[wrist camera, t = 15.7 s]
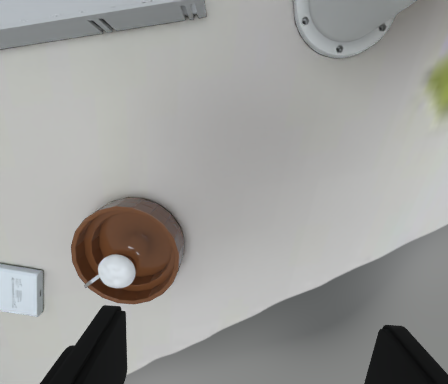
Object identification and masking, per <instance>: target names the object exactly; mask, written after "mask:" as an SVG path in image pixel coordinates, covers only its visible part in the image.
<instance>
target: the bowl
mask: <svg viewBox="0 0 448 384" xmlns="http://www.w3.org/2000/svg"><path fill="white" fill-rule="evenodd" d="M138 233H140V234H142V235H145V236H146V237H147V239H148V240H149V248H148V250H147V252H146V254H145V256H144V258H143V260H142V262H141V264H140V267H139V269H138V271H137V274H136V276H135V278H134V280H133V282H132V283H131V284H130V285H129V286H127V287H124V288H112V287H109V286H107V285H105V284H104V283H103V282H102V280H101V279H100V278H99V279H97V280H96V281H95V282H93V283H92V284H91V285H89V286H88V288H89V289H90V290H92V291H93V292H95V293H96V294H98V295H99V296H101V297H102V298H105V299H108V300H111V301H114V302H116V303H124V304H138V303H143V302H148V301H151V300H153V299H154V298H156V297H158V296H160V295H162V294H163V293H164V292H165V291H166V290H167V289H168V288H169V287H170V286H171V284H172V283H173V282H174V279H175V277H176V274H177V272H178V269H179V267H180V264H181V261H182V258H183V254H184V238H183V235H182V231H181V228H180V226H179V225H178V223H177V222H176V220H175V219H174V218H173V216H172V215H171V214H170V213H169V212H168V211H166V210H165V209H164V208H163V207H161V206H160V205H158V204H156V203H153V202H151V201H148V200H146V199H141V198H124V199H119V200H115V201H112V202H111V203H109V204H107V205H106V206H104V207H103V208H101V209H99V210H98V211H96V212H95V213H93V214H92V215H90V216H88V217H87V218H85V219H84V220H83V222H82V223H81V224H80V226H79V227H78V228H77V230H76V231H75V234H74V237H73V241H72V244H71V252H72V262H73V264H74V267H75V269H76V271H77V274H78V276H79V277H80V279H81V280H82V281H83V282H84V283H85V284H86V283H87V282H89V281H90V280H91V279H93V278H94V277H96V276H97V275H98V266H99V264H100V262H101V261H102V260H103V259H104V258H105V257H106V256H108V255H109V254H110V253H111V252H113V251H114V250H115V249H116V248H118V247H119V246H120V245H121V244H122V243H123V242H125V241H126V240H127V239H128V238H129V237H130V236H132V235H133V234H138Z"/></svg>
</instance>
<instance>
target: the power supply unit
mask: <svg viewBox="0 0 448 384" xmlns="http://www.w3.org/2000/svg"><path fill="white" fill-rule="evenodd" d="M195 14H198V18H202V17H206V9H205V2H204V0H0V49H5V48H12V47H18V46H25V45H31V44H38V43H44V42H50V41H57V40H63V39H70V38H76V37H83V36H89V35H95V34H102V33H103V29H104V30H105V31H106V32H112V28H114V29H115V30H116V31H119V30H125V29H132V28H138V27H145V26H151V25H158V24H164V23H171V22H177V21H184V20H185V16H189V19H190V20H191V19H194V17H193V15H195Z"/></svg>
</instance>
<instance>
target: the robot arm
mask: <svg viewBox="0 0 448 384" xmlns="http://www.w3.org/2000/svg"><path fill="white" fill-rule="evenodd" d="M416 1H417V0H294V16H295V21H296V25H297V28H298V30H299V32H300V35H301V36H302V38H303V39H304V41H305V42H306V43H307V44H308V45H309V46H310V47H311V48H312V49H313V50H315V51H316V52H318V53H320V54H322V55H325V56H327V57H333V58H347V57H350V56H354V55H357V54H359V53H361V52H363V51H365V50H367V49H368V48H370V47H371V46H373V45H374V44H375V43H376V42H377V41H379V40H380V39H381V38H382V37H383V36H384V34H385V33H386V32H387V31H388V29H389V27H390V26H391V24H392V22H393V21H394V18H395V16H396V14H398V13H399V12H401V11H402V10H404V9H405V8H407V7H408V6H410V5H411V4H413V3H414V2H416ZM302 22H304V23H305V25H303V24H302ZM379 29H380V30H379ZM336 49H338V52H337V51H336ZM126 374H127V346H126V313H125V311H121V307H119V306H106V305H104V306H103V307H102V308H101V309H100V311H99V312H98V313H97V315H96V316H95V318H94V319H93V321H92V322H91V323H90V325H89V326H88V328H87V329H86V331H85V332H84V333H83V335H82V336H81V338H80V339H79V341H78V342H77V343H76V345H75V346H69V347H68V348H66V349H65V351H64V352H63V353H62V354H61V356H60V357H59V358H58V360H57V361H56V362H55V364H54V365H53V367H52V368H51V369H50V371H49V372H48V373H47V375H46V376H45V377H44V379H43V380H42V382H41V383H40V384H124V381H125V378H126ZM364 384H448V374H447V373H446V372H445V371H444V370H443V369H442V368H441V367H440V366H439V364H438V363H437V362H436V361H435V360H434V359H433V358H432V357H431V356H430V355H429V354H428V352H427V351H426V350H425V349H424V348H423V347H422V346H421V345H420V343H419V342H417V340H416V339H415V338H414V337H413V336H412V335H411V334H410V332H409V331H408V330H407V329H406V328H405V327H402V326H393V325H385V326H384V327H383V328H382V329H380V330H379V332H378V336H377V340H376V343H375V347H374V351H373V354H372V358H371V362H370V365H369V369H368V372H367V376H366V379H365V383H364Z"/></svg>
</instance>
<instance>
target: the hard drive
mask: <svg viewBox="0 0 448 384" xmlns="http://www.w3.org/2000/svg"><path fill="white" fill-rule="evenodd" d="M0 311H3V312H10V313H16V314H23V315H30V316H36V317H38V316H39V315H40V314H41V313H42V312H43V271H42V270H36V269H31V268H25V267H18V266H12V265H6V264H0Z"/></svg>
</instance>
